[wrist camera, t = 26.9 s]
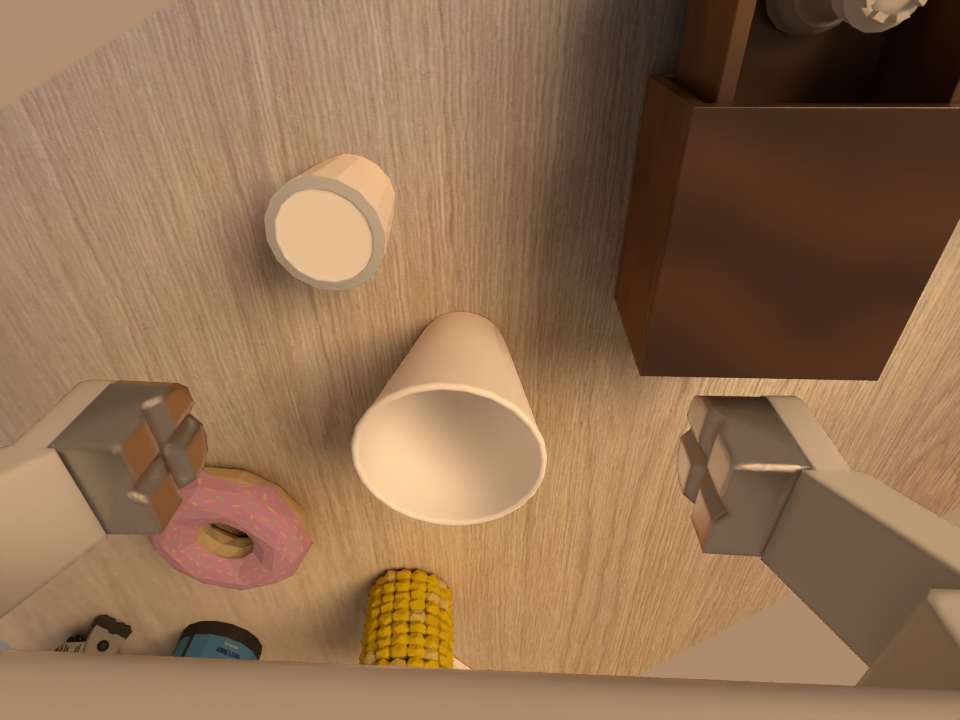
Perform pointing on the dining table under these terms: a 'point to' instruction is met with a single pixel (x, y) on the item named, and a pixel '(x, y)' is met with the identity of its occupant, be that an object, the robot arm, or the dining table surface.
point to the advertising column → (217, 642)
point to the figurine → (99, 638)
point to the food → (408, 622)
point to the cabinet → (782, 233)
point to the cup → (452, 429)
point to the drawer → (819, 58)
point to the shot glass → (332, 222)
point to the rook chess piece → (838, 14)
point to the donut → (246, 508)
